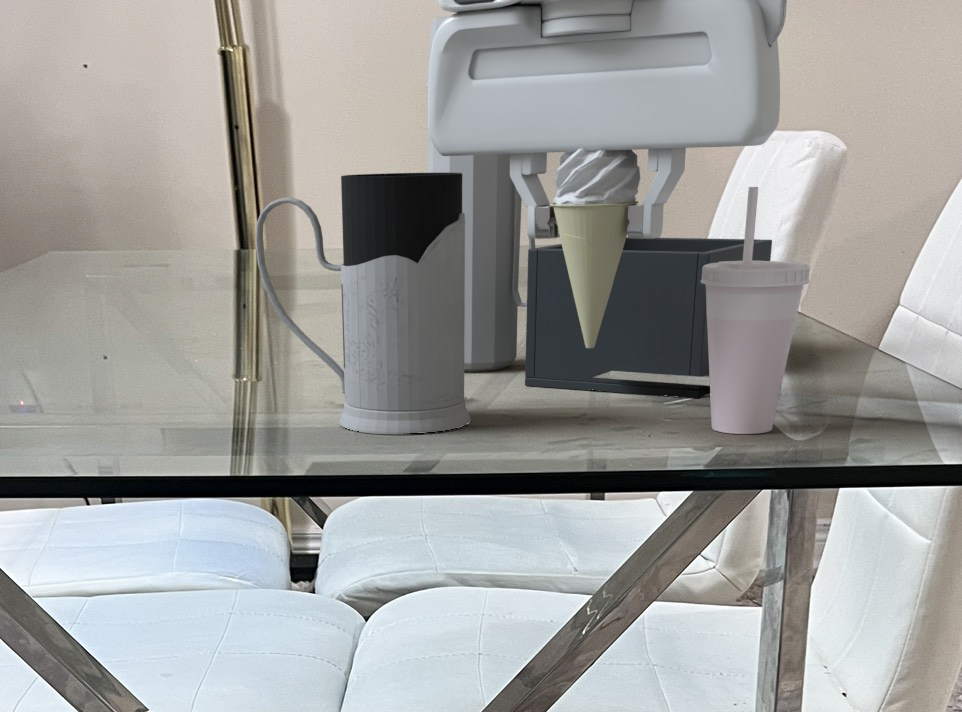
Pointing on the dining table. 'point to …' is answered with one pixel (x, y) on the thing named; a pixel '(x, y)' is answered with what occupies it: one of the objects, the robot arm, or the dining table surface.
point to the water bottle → (487, 251)
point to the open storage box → (628, 317)
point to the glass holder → (396, 300)
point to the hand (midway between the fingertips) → (592, 238)
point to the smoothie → (749, 333)
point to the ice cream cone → (594, 225)
